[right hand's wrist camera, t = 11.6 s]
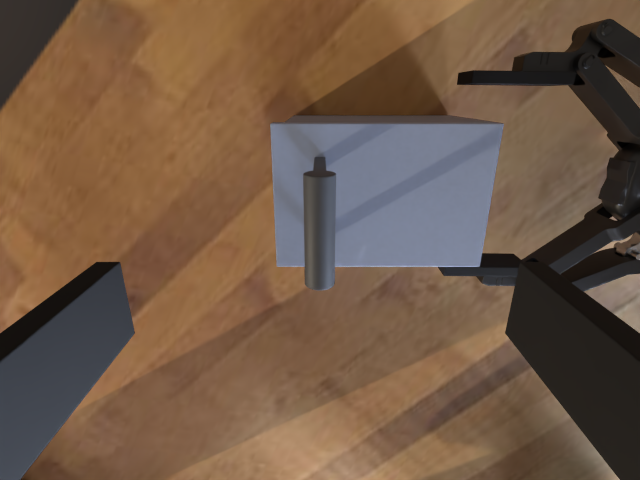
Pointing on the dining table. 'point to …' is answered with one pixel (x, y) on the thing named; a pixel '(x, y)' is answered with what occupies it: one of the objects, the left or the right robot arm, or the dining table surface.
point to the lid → (381, 194)
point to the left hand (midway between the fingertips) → (450, 179)
